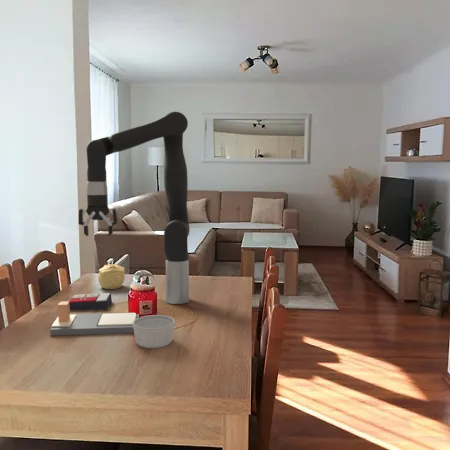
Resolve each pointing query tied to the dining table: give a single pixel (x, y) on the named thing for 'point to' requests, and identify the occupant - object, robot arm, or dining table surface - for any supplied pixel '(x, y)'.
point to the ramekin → (153, 331)
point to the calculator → (90, 301)
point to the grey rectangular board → (98, 324)
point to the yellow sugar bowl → (111, 276)
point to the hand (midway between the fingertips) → (98, 235)
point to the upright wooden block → (64, 315)
